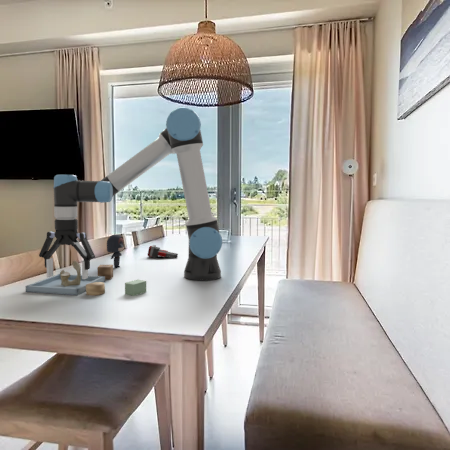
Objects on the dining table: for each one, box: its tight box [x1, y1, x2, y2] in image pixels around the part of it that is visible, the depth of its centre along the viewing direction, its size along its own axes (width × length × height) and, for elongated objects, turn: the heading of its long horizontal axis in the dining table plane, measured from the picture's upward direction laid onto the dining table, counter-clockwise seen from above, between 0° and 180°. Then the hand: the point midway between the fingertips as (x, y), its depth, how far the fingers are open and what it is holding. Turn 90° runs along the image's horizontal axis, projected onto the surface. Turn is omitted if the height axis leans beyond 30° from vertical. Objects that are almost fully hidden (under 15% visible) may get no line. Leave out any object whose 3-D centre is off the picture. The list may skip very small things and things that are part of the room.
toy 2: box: [147, 244, 179, 259], centre depth 194 cm, size 9×6×15 cm
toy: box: [106, 234, 125, 269], centre depth 166 cm, size 9×8×15 cm
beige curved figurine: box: [59, 260, 82, 287], centre depth 133 cm, size 9×6×10 cm
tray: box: [24, 273, 106, 296], centre depth 132 cm, size 19×19×2 cm
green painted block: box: [124, 279, 147, 297], centre depth 125 cm, size 4×6×4 cm, turn 148°
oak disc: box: [85, 282, 106, 297], centre depth 124 cm, size 6×6×3 cm
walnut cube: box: [96, 264, 114, 281], centre depth 146 cm, size 5×5×5 cm
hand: (67, 277), depth 132 cm, fingers open, 13 cm apart
